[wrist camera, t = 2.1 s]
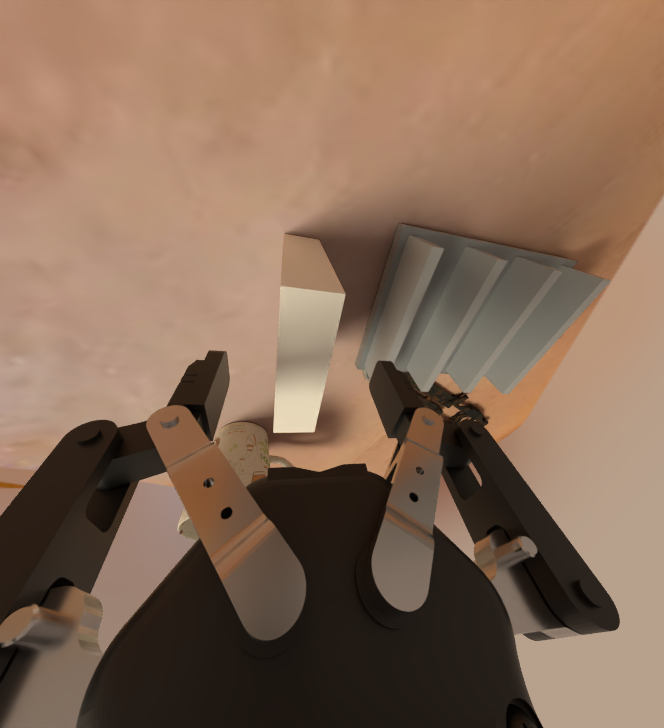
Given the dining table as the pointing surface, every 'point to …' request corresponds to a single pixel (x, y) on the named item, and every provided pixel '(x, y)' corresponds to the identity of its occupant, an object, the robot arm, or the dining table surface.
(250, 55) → the dining table surface
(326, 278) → the cream rectangular block
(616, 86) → the dining table surface
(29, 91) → the dining table surface
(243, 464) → the mug
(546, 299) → the dish rack
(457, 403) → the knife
